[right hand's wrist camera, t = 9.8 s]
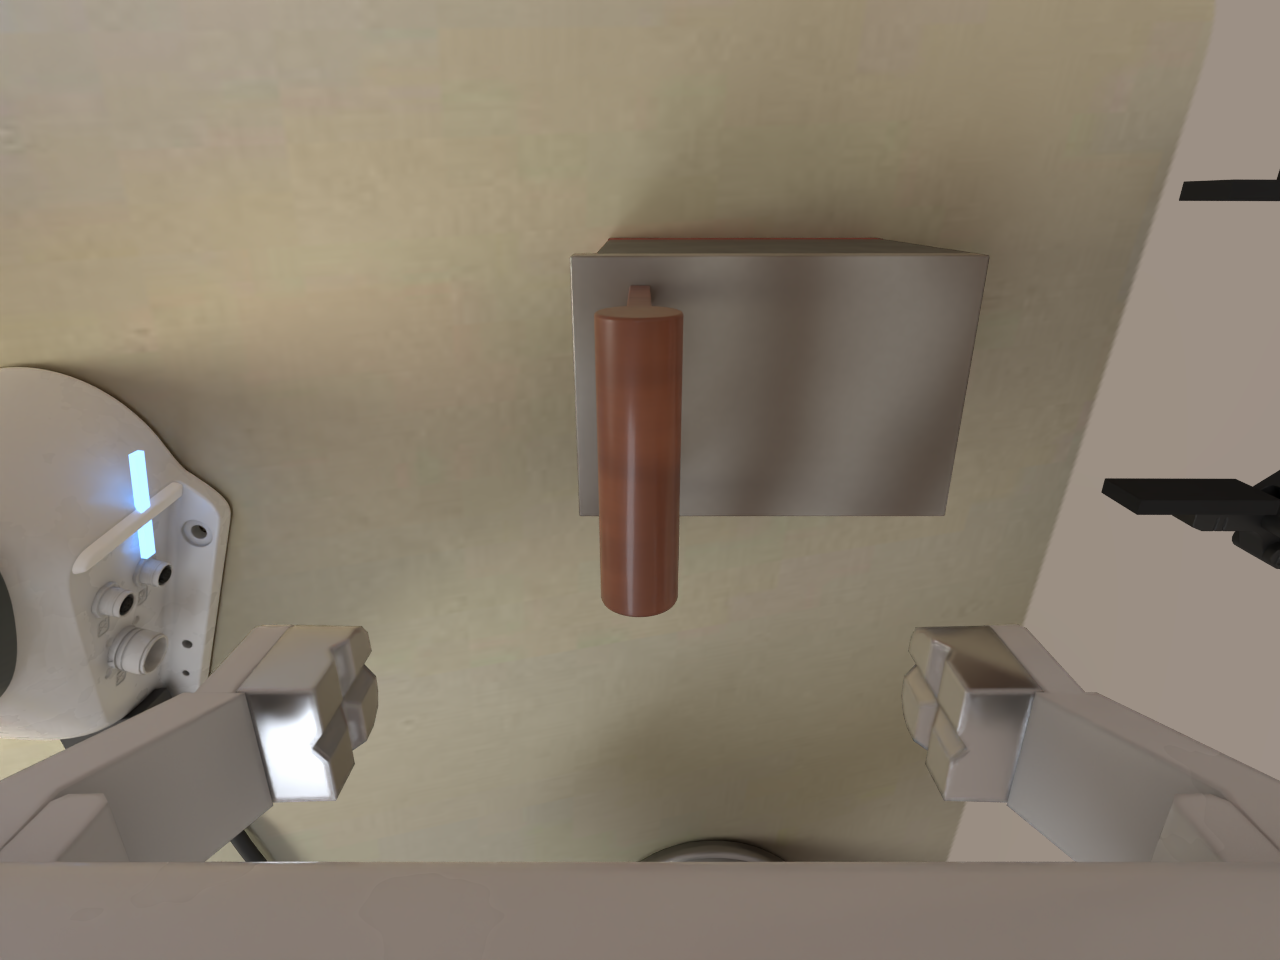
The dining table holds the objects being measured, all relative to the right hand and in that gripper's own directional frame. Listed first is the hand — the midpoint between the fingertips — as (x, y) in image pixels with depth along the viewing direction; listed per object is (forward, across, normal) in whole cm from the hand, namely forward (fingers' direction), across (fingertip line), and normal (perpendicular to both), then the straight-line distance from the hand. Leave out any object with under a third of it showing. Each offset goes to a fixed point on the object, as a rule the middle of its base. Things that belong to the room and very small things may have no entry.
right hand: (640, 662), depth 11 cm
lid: (+17, -5, 0) cm, 18 cm away
